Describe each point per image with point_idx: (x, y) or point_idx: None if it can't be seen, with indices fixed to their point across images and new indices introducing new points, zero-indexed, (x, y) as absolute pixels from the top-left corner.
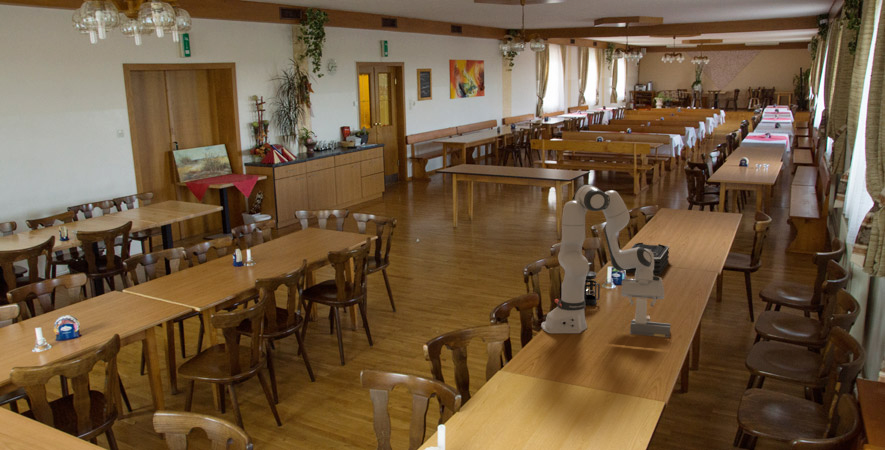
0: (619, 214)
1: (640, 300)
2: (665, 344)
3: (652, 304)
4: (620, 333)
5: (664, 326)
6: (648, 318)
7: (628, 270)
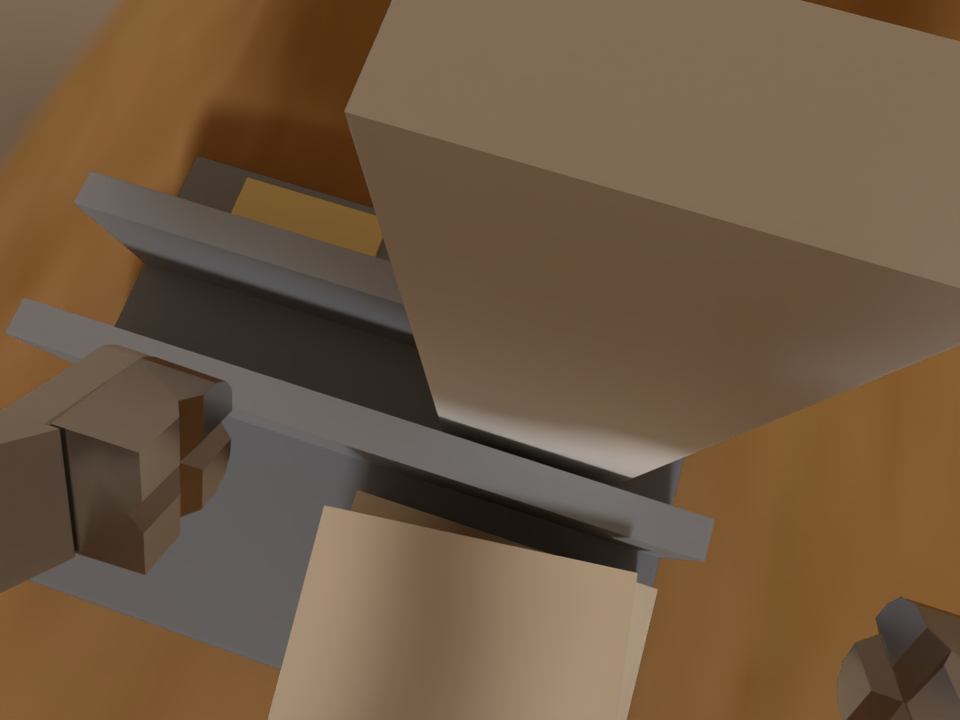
0: None
1: (765, 42)
2: (314, 36)
3: (138, 358)
4: (833, 408)
5: (170, 206)
6: (354, 526)
7: None
